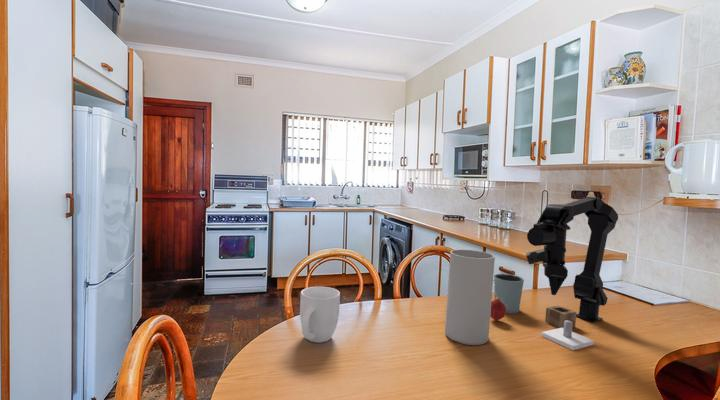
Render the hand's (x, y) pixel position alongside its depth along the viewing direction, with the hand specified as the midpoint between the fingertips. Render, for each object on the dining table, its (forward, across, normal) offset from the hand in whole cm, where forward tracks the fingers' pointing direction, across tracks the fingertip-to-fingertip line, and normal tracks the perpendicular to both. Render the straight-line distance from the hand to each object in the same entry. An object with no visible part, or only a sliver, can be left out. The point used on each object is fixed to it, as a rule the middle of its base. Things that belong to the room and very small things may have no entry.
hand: (552, 290), depth 120 cm
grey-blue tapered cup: (+12, -10, -14) cm, 21 cm away
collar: (+12, -4, +3) cm, 13 cm away
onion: (+12, +5, -16) cm, 21 cm away
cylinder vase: (+11, +23, -24) cm, 35 cm away
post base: (+12, +9, +4) cm, 16 cm away
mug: (+10, +48, -61) cm, 78 cm away
